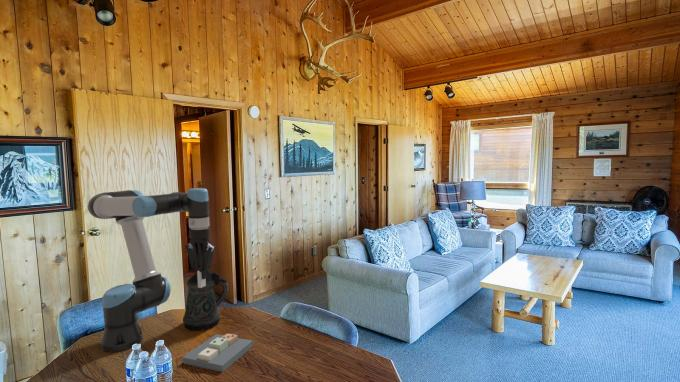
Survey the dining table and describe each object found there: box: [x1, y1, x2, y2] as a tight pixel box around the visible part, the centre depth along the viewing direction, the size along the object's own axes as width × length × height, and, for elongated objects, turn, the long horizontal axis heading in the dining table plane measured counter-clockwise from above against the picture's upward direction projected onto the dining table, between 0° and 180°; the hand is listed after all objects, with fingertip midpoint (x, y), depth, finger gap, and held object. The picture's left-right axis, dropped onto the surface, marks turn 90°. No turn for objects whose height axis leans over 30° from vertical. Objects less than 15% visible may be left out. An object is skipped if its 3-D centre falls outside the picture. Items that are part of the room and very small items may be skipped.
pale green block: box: [209, 337, 228, 353], centre depth 143 cm, size 5×5×4 cm
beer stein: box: [182, 269, 229, 332], centre depth 171 cm, size 16×19×25 cm
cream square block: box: [198, 347, 218, 362], centre depth 137 cm, size 5×5×4 cm
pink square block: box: [221, 332, 239, 346], centre depth 148 cm, size 5×5×4 cm
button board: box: [181, 333, 254, 373], centre depth 143 cm, size 18×19×2 cm
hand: (201, 286), depth 146 cm, fingers closed
